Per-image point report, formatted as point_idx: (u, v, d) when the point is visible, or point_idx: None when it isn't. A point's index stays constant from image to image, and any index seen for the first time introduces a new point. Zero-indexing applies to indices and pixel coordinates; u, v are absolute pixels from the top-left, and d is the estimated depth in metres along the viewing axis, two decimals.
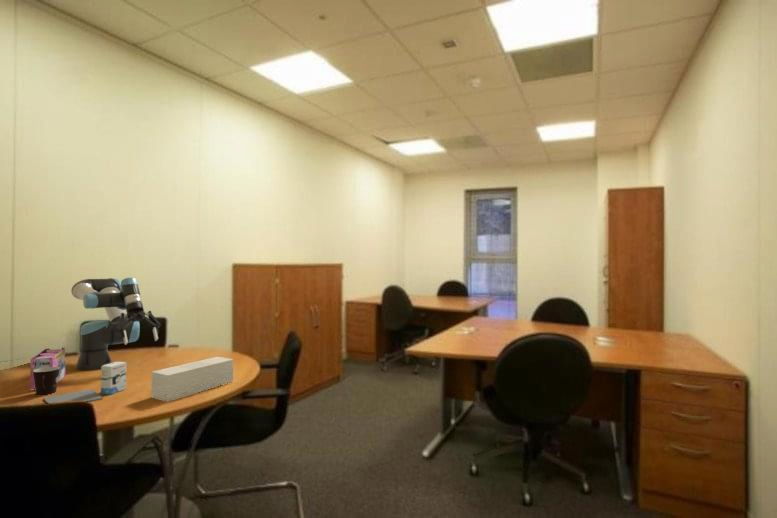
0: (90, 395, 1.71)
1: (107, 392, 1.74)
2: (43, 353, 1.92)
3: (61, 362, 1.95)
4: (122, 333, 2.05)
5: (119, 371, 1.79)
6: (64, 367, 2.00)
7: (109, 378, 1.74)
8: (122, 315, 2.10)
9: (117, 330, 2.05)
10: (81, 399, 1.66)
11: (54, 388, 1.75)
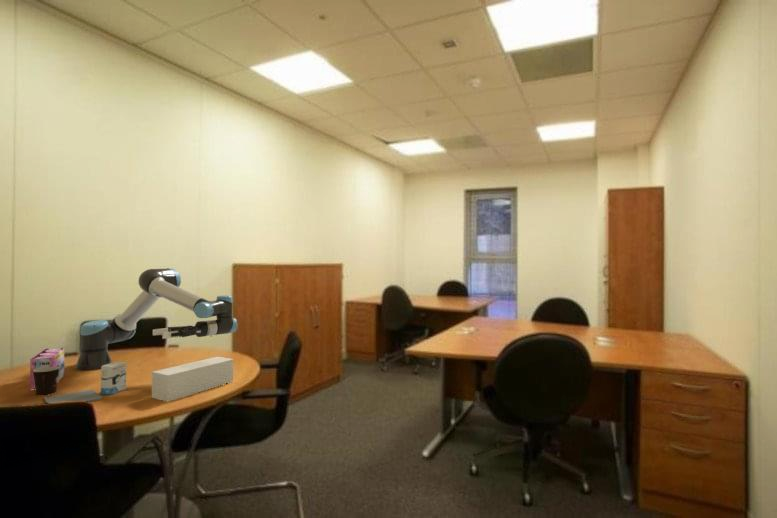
0: (90, 395, 1.71)
1: (107, 392, 1.74)
2: (42, 353, 1.92)
3: (60, 362, 1.95)
4: None
5: (119, 371, 1.79)
6: (63, 367, 2.00)
7: (109, 378, 1.74)
8: (197, 334, 1.98)
9: (182, 335, 1.91)
10: (81, 399, 1.66)
11: (54, 388, 1.75)
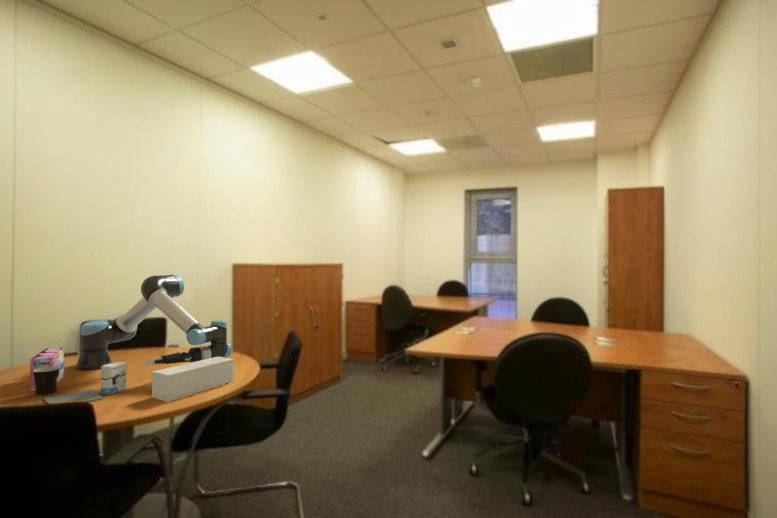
0: (90, 395, 1.71)
1: (107, 392, 1.74)
2: (42, 353, 1.92)
3: (60, 362, 1.95)
4: None
5: (119, 371, 1.79)
6: (63, 367, 2.00)
7: (109, 378, 1.74)
8: None
9: (166, 362, 1.91)
10: (81, 399, 1.66)
11: (54, 388, 1.75)
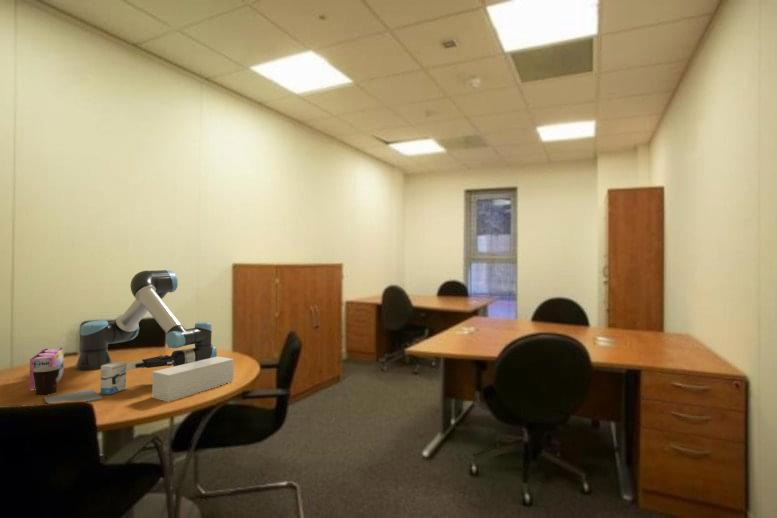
0: (90, 395, 1.71)
1: (107, 392, 1.74)
2: (42, 353, 1.92)
3: (60, 362, 1.95)
4: None
5: (119, 371, 1.79)
6: (62, 367, 2.00)
7: (108, 378, 1.74)
8: None
9: (147, 365, 1.84)
10: (81, 399, 1.66)
11: (54, 388, 1.75)
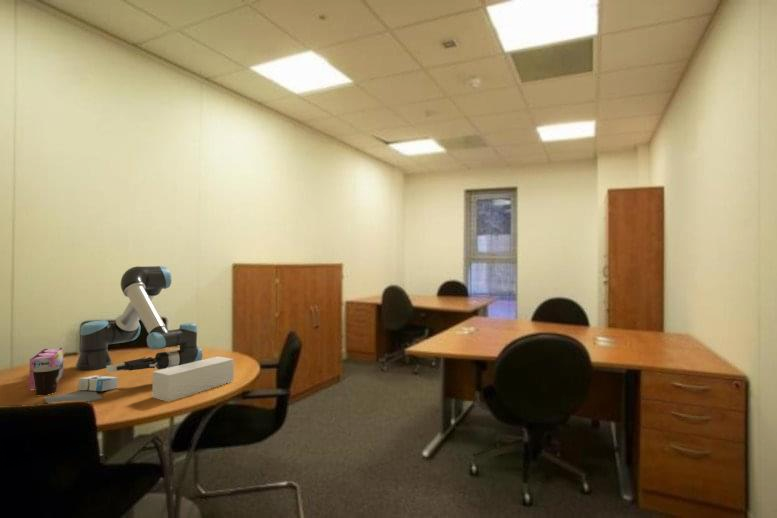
0: (90, 395, 1.71)
1: (100, 383, 1.76)
2: None
3: (59, 362, 1.95)
4: None
5: (94, 376, 1.82)
6: (62, 367, 2.00)
7: (88, 380, 1.77)
8: None
9: (128, 368, 1.80)
10: (81, 399, 1.66)
11: (54, 388, 1.75)
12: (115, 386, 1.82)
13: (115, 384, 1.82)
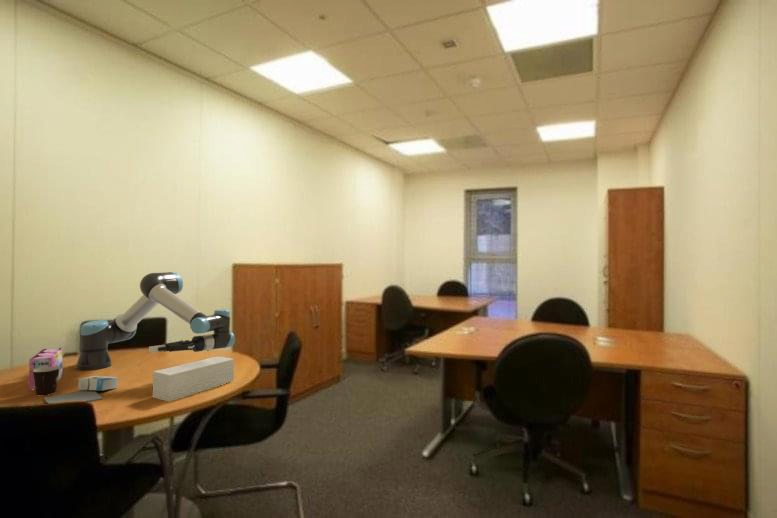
0: (90, 395, 1.71)
1: (100, 382, 1.76)
2: None
3: (59, 362, 1.95)
4: None
5: (94, 376, 1.82)
6: (61, 367, 2.00)
7: (89, 380, 1.77)
8: None
9: (169, 349, 1.92)
10: (81, 399, 1.66)
11: (54, 388, 1.75)
12: (115, 386, 1.82)
13: (115, 384, 1.82)
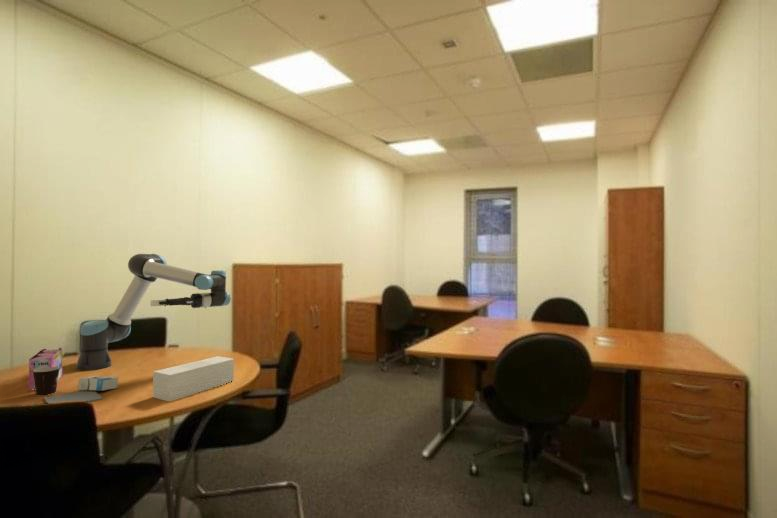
0: (90, 395, 1.71)
1: (100, 382, 1.76)
2: (40, 353, 1.92)
3: (59, 362, 1.95)
4: (163, 304, 2.07)
5: (94, 376, 1.82)
6: (61, 367, 2.00)
7: (89, 380, 1.77)
8: (187, 304, 2.11)
9: (169, 303, 2.07)
10: (81, 399, 1.66)
11: (54, 388, 1.75)
12: (115, 386, 1.82)
13: (115, 384, 1.82)
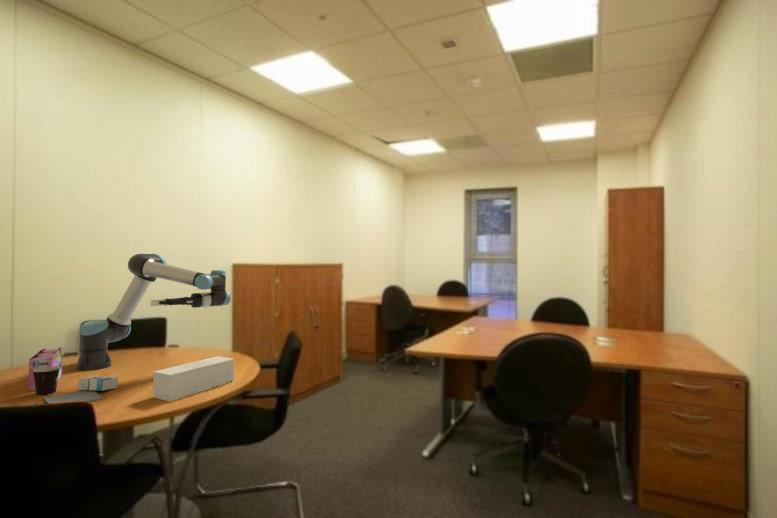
0: (90, 395, 1.71)
1: (100, 382, 1.76)
2: (40, 353, 1.91)
3: (58, 362, 1.95)
4: (163, 304, 2.07)
5: (94, 376, 1.82)
6: (61, 367, 2.00)
7: (89, 380, 1.77)
8: (187, 304, 2.11)
9: (169, 303, 2.07)
10: (81, 399, 1.66)
11: (54, 388, 1.75)
12: (115, 386, 1.82)
13: (115, 384, 1.82)
